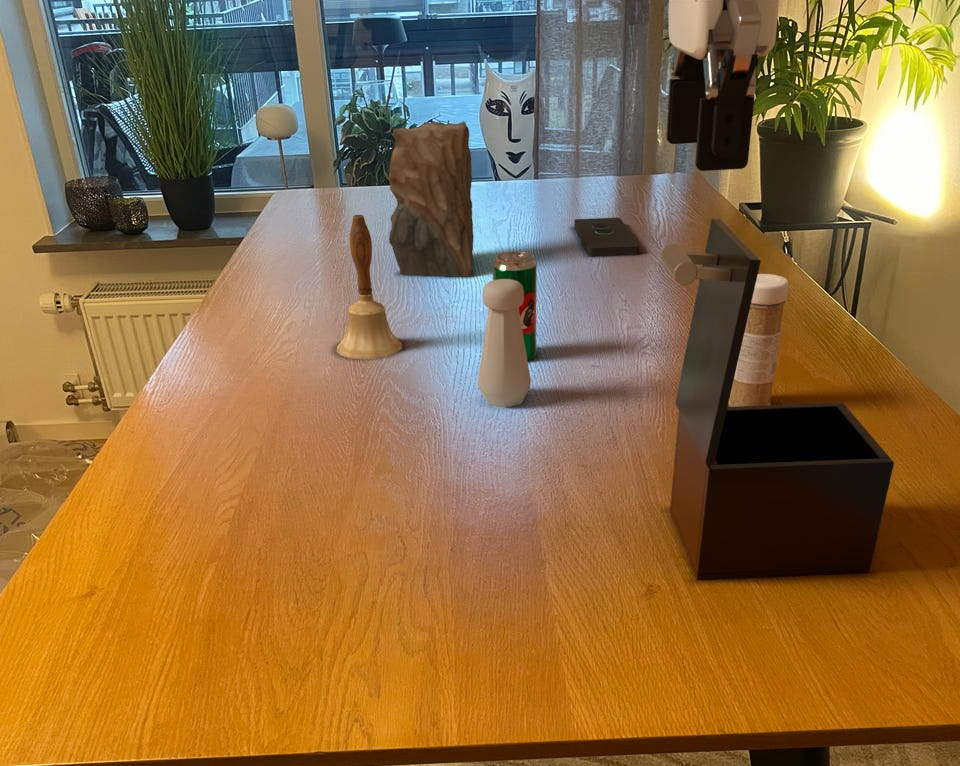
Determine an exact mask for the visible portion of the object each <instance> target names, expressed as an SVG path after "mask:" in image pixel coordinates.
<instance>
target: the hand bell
mask: <svg viewBox="0 0 960 766" xmlns="http://www.w3.org/2000/svg"><path fill="white" fill-rule="evenodd" d="M349 249H350V254H351V255H350V256H351V258H352V262H353V264H354V267H355V271H356V277H357V293H358V301H356V302H355V303H353V304H351V305H350V306H349V308H348V319H347V328H346V332H345V335H344V336H343V339H342V340H341V341H340V343H339V344H338V345H337V348H336V353H337V354H338V355H340V356H342V357H344V358H348V359H354V360H374V359H381V358H386V357H390V356H392V355H395V354H397V353H399V352H400V351H402V349H403V344H402V341H400V339H399V338H397V337H396V336H395V334H394V333H393V331H392V329H391V327H390V325H389V321H388V318H387V313H386V308H385V306H384V305H383V304H382V303H380V302H378V301H376V300H375V299H374V295H373V287H372V280H371V270H370V269H371V263H372V258H373V243H372V236H371V233H370V230H369V228H368V225H367V223H366V220H365V215H363V214H355V215H352V221H351V226H350V231H349Z"/></svg>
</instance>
